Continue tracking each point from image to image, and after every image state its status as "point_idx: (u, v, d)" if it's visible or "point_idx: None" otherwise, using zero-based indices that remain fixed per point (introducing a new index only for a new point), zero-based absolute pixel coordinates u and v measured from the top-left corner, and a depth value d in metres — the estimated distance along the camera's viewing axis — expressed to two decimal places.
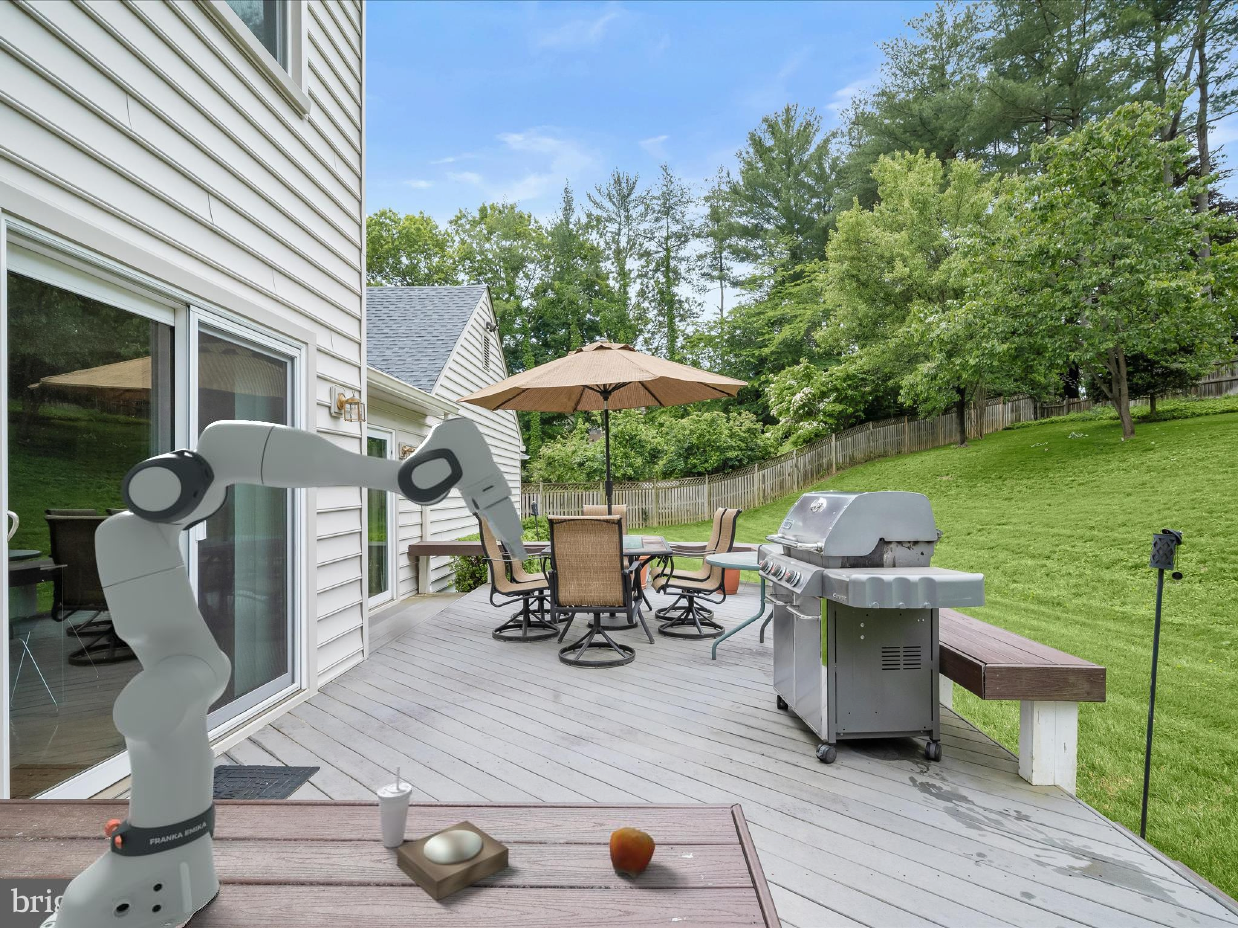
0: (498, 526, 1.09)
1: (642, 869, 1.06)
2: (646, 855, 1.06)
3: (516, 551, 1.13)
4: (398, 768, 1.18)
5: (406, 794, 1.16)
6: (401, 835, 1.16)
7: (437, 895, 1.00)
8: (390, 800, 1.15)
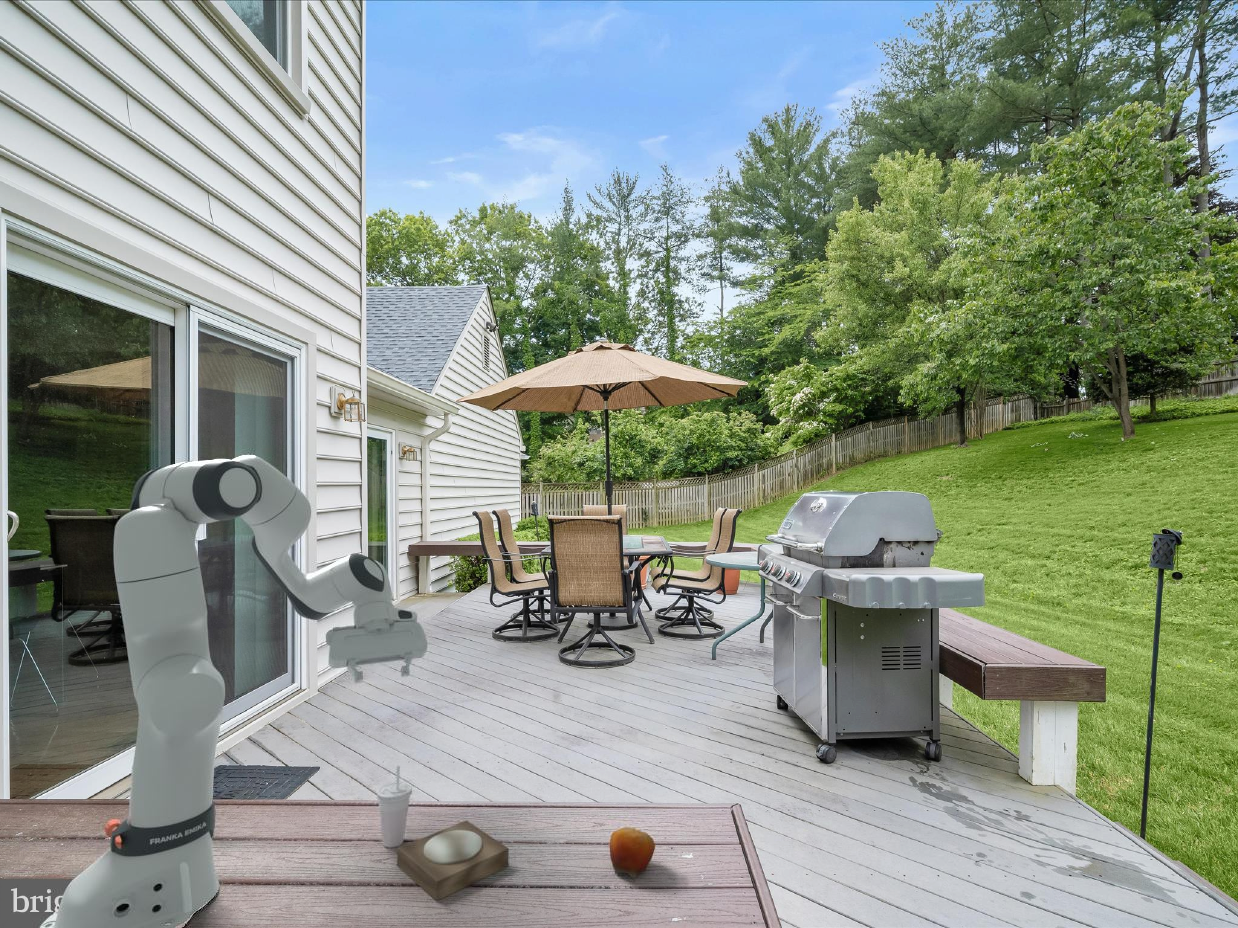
0: None
1: (642, 869, 1.06)
2: (646, 855, 1.06)
3: (410, 663, 1.35)
4: (398, 768, 1.18)
5: (406, 794, 1.16)
6: (401, 835, 1.16)
7: (437, 895, 1.00)
8: (390, 800, 1.15)
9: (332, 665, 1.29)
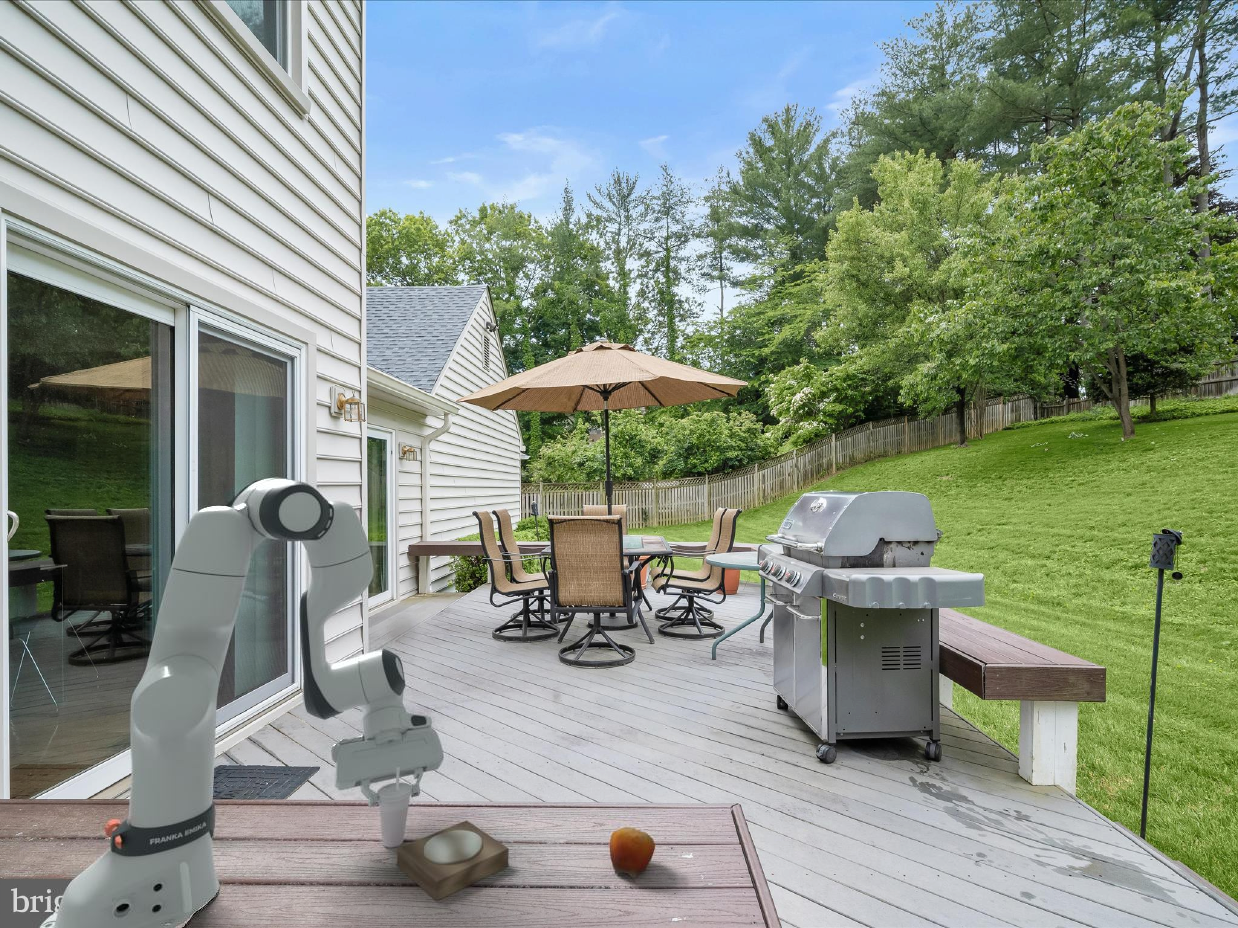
0: (440, 744, 1.27)
1: (642, 869, 1.06)
2: (646, 855, 1.06)
3: (420, 780, 1.21)
4: (398, 768, 1.18)
5: (406, 794, 1.16)
6: (401, 835, 1.16)
7: (437, 895, 1.00)
8: (390, 800, 1.15)
9: (339, 787, 1.15)
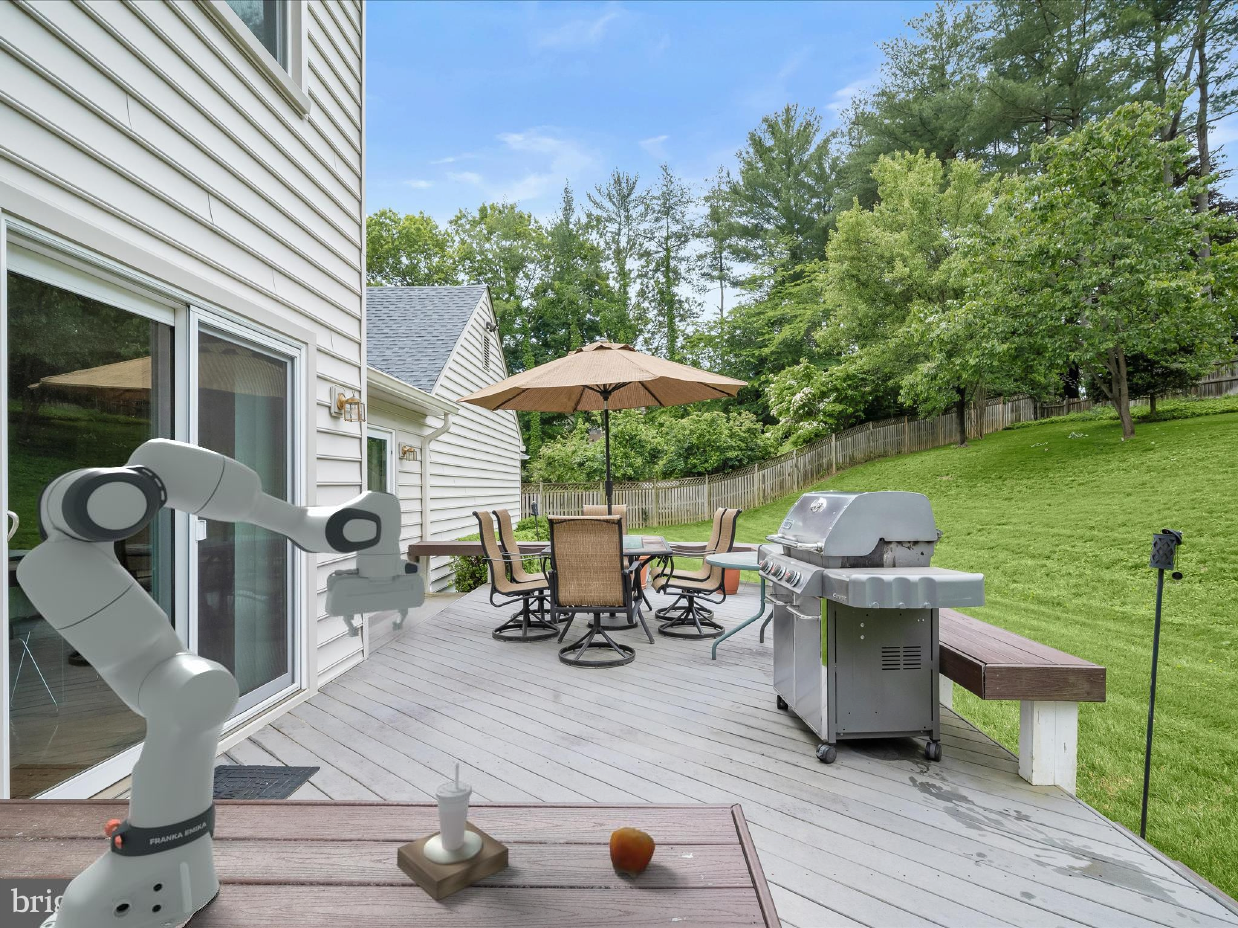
0: (424, 590, 1.36)
1: (642, 869, 1.06)
2: (646, 855, 1.06)
3: None
4: (457, 766, 1.10)
5: (467, 793, 1.09)
6: (461, 837, 1.09)
7: (437, 895, 1.00)
8: (450, 800, 1.07)
9: None
